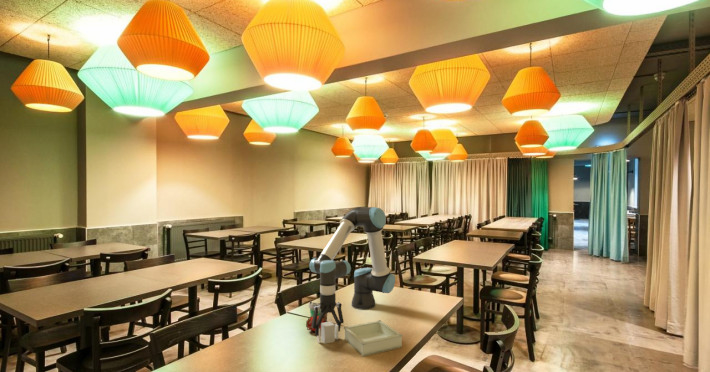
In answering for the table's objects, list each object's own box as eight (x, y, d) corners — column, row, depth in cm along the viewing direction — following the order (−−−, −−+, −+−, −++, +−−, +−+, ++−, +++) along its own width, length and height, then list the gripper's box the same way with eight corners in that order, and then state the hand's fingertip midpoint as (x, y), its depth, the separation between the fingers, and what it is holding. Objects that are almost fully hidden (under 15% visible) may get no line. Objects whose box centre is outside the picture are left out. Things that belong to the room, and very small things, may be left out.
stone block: (330, 337, 169) (330, 321, 169) (334, 341, 165) (334, 324, 165) (321, 339, 167) (321, 323, 167) (324, 343, 163) (324, 326, 163)
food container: (304, 321, 190) (304, 303, 190) (310, 318, 195) (310, 300, 196) (322, 325, 184) (322, 307, 184) (328, 322, 190) (328, 303, 190)
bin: (380, 331, 177) (380, 320, 177) (402, 347, 158) (402, 335, 158) (343, 338, 168) (343, 327, 168) (362, 356, 149) (362, 343, 149)
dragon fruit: (303, 336, 175) (324, 334, 181) (310, 330, 170) (331, 328, 176) (301, 319, 180) (321, 318, 186) (308, 313, 175) (328, 312, 181)
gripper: (344, 288, 174) (344, 333, 174) (304, 293, 165) (304, 341, 165) (350, 292, 168) (351, 338, 167) (309, 298, 158) (309, 347, 158)
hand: (327, 340), depth 166 cm, fingers open, 8 cm apart
